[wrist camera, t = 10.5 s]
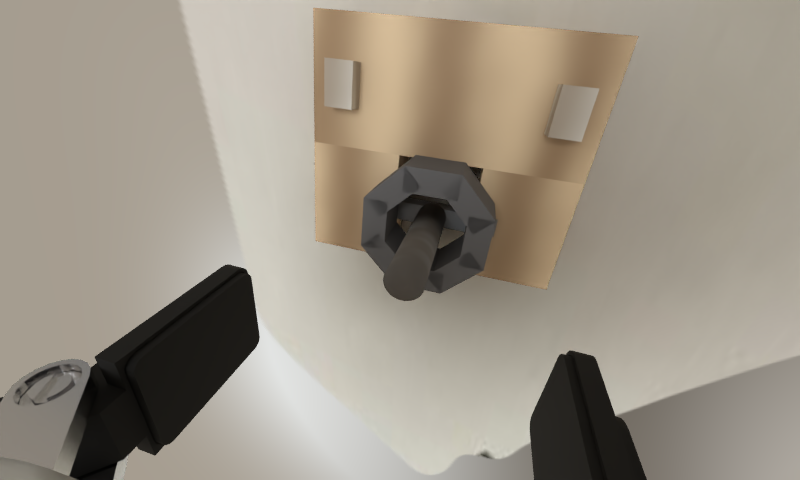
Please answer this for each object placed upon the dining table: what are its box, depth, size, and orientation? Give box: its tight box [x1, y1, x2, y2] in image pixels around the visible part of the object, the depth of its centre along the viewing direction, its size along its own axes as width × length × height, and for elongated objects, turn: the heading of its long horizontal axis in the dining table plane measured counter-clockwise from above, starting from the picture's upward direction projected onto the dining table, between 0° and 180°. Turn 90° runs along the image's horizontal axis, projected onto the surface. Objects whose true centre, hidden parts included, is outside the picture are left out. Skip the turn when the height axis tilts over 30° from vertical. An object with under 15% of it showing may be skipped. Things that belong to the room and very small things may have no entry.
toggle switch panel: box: [313, 8, 639, 301], centre depth 17 cm, size 16×14×11 cm
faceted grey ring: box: [361, 155, 496, 293], centre depth 20 cm, size 7×7×3 cm
